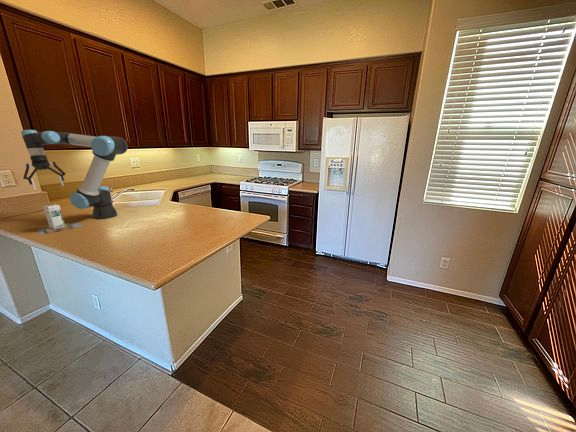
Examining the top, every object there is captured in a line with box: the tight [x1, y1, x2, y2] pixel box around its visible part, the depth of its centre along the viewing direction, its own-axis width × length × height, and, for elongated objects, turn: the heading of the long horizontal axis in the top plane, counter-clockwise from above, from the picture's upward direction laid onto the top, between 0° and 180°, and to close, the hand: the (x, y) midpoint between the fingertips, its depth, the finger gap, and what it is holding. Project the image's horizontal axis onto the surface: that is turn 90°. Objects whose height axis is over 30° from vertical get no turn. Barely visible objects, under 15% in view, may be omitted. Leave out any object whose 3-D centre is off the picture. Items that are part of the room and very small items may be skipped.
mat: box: [37, 221, 84, 236], centre depth 154 cm, size 20×14×1 cm
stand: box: [43, 222, 74, 234], centre depth 152 cm, size 12×12×1 cm
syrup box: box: [42, 203, 65, 229], centre depth 150 cm, size 6×6×14 cm
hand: (49, 187), depth 159 cm, fingers open, 13 cm apart
